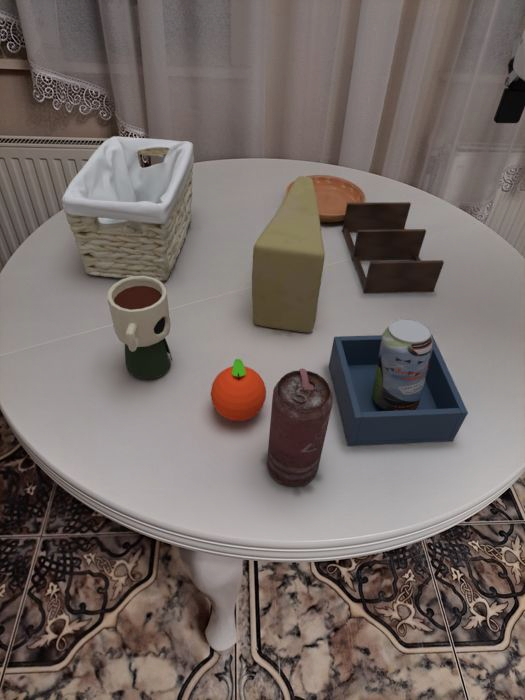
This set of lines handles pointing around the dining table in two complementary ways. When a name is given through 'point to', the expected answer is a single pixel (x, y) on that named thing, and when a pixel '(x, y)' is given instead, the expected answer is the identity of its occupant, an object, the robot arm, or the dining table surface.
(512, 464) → the dining table surface
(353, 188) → the saucer
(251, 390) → the clementine
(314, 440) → the can
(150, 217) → the basket
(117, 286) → the character mug
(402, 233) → the drying rack
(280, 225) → the cheese
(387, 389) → the beverage can
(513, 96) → the robot arm
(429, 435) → the open square box
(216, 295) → the dining table surface
